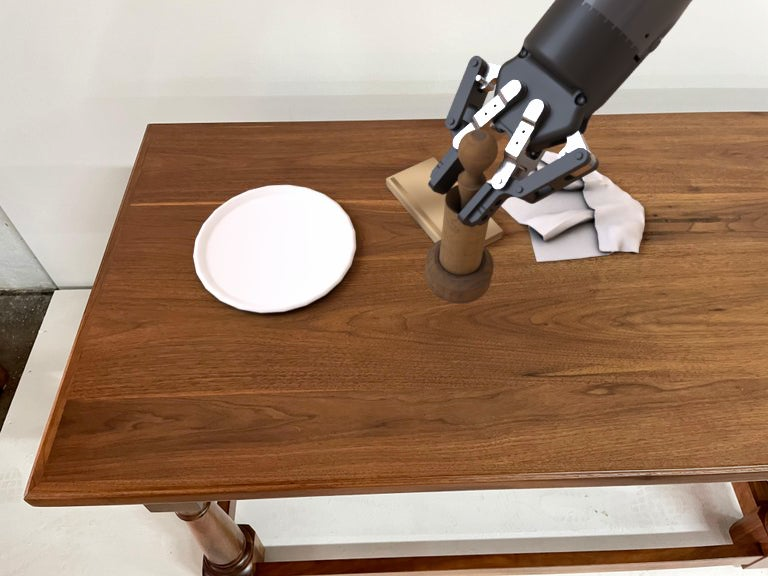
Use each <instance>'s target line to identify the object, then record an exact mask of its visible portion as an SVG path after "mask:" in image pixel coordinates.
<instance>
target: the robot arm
mask: <svg viewBox="0 0 768 576" xmlns="http://www.w3.org/2000/svg"><path fill="white" fill-rule="evenodd" d="M692 2H693V0H554V1H553V2H552V3H551V5H550V6H549V8H547V10H546V11H545V12H544V14H543V15H542V16H541V17H540V19H539V20H538V21H537V22H536V24H535V25H534V26H533V27H532V28H531V30H530V31H529V32H528V34H527V35H526V36H525V38H524V39H523V43H522V46H521V48H520V51H519V52H518V53H517V54H516V55H514V56H513V57H512V58H510V59H508V60H507V61H505V62H504V63H502V65H500V64H495V63H491V62H487V61H486V60H485V59H483V58H482V57H481V56H480V55H474V56H472V57H471V58H470V59H469V61H468V63H467V65H466V68H465V71H464V73H463V75H462V78H461V80H460V83H459V86H458V88H457V90H456V93H455V95H454V98H453V100H452V103H451V106H450V108H449V110H448V113H447V114H446V115H447V116H446V117H445V121H444V126H445V127H446V129H448V130H449V131H450V135H451V138H452V144H451V147H450V148H449V149H448V150H447V152H446V153H445V154H444V155H443V156H442V158H441V159H440V160H439V161H438V162H439V163H438V164H437V166H436V167H435V168H434V169H433V170H432V173H431V175H430V178H431V180H430V181H429V183H428V186H429V187H430V188H431V189H432V190H433V191H434V192H436V193H439V194H441V195H444V194H446V193H447V192H448V191H449V190H450V189H451V188H452V187H453V186H454V184H455V183H456V182H458V177H459V175H460V173H461V172H463V171H465V168H464V167H463V165H462V163H461V162H460V160H459V157H458V145H459V142H460V140H461V138H462V137H463V136H464V135H465V134H466V133H467V132H469V131H471V130H475V129H481V130H485V131H488V132H489V133H491V134H492V135H493V136H494V138H495V139H496V141H497V142H498V141H501V140H502V139H503V138H505V137H506V136H507V137H508V139H509V142H508V144H507V146H506V147H505V149H504V151H503V159H502V161H501V163H500V164H499V166H498V168H497V170H496V171H495V173H494V175H493V177H492V178H491V179H492V183H491V184H490V183H488V182H487V181H486V183H485V184H484V185H483V186H482V187H481V189H480V190H479V191H478V192H477V193H476V194H475V196H474V197H473V198H472V199H471V200H470V201H469V203H468V204H467V205H466V206H465V207H464V208H463V210H462V211H461V212H460V213H459V214H458V216H457V218H458V220H459V221H460V222H461V223H462V224H463V225H466V226H469V227H474V226H476V225H479V226H481V225H483V224H485V223H486V222H487V221H488V220H489V219H490V217H491V218H493V216H494V214H495V213H496V212H497V211H498V210H499V209H500V208H501V205H502V204H503V203H504V202H505V201H506V200H507V199H508V198H510V197H516V198H519V199H521V200H524V201H526V202H527V203H530V204H534V203H536V202H538V201H540V200H542V199H544V198H546V197H548V196H549V195H551V194H553V193H555V192H557V191H559V190H560V189H562V188H564V187H566V186H568V185H570V184H571V183H573V182H575V181H577V180H579V179H581V178H583V177H584V176H586V175H588V174H590V173H592V172H594V171H595V170H596V171H597V169H598V168H599V165H600V160H599V158H598V157H596V156H595V155H594V153H592V152H591V149H590V147H589V145H588V143H587V141H586V138H585V136H584V134H585V133H586V131H587V129H588V126H589V125H588V124H589V122H590V120H591V118H592V116H593V115H594V113H596V112H598V111H599V109H600V108H602V107H603V106H604V105H606V103H607V102H608V101H609V100H610V99H611V97H613V96H614V94H615V93H616V92H617V91H618V89H620V87H621V86H622V85H623V84H624V83H625V82H626V81H627V80H628V79H629V77H630V76H631V75H632V74H633V73H634V72H635V71H636V70H637V68H639V66H640V65H641V64H642V63H643V62H644V61H645V60H646V58H647V57H648V56H649V55H650V54H652V53H653V52H654V51H656V49H657V48H659V46H660V44H661V43H662V41H663V39H664V38H665V37H666V36H667V35H668V34H669V32H671V31H672V29H673V28H674V26H676V24H677V23H678V21H679V20H680V18H681V17H682V15H683V14H684V13H685V11H686V10H687V9H688V8H689V6H690V5H691V3H692ZM493 91H494V92H493ZM490 92H493V98H492V99H491V100H490V101H489V102H487V103H486V104H485V102H486V99H487V97H488V95H489V93H490ZM484 104H485V105H484ZM564 144H565V146H564V147H563V148H562V149H561V150H560V151H559V152H558V153H557V154H558V159H557V160H555V161H553V162H552V163H550V164H548V165H546V166H545V167H543V168H541V169H539V170H538V169H537V168H536V167H537V166H538V164H539V162H540V160H541V159H542V157H543V155H544V154H545V152H546V151H548V149H552V148H554V147H557V146H560V145H564ZM536 169H537V170H536ZM534 170H535V171H536V172H534V173H532V174H531V175H529V173H530V172H531V171H534ZM528 175H529V176H528Z"/></svg>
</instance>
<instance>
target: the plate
mask: <svg viewBox="0 0 768 576" xmlns="http://www.w3.org/2000/svg"><path fill="white" fill-rule="evenodd" d="M356 251H357V240H356V230H355V228H354V225H353V223H352V220H351V218H350V216H349V214H348V213H347V212H346V211H345V210H344V209H343V208H342V206H341V205H340V204H339V203H338V202H336V201H335V200H333V199H332V198H331V197H329V196H328V195H326V194H324V193H322V192H321V191H317V190H314V189H312V188H309V187H305V186H299V185H292V184H278V185H276V184H275V185H265V186H261V187H258V188H253V189H249V190H246V191H245V192H242V193H240V194H237V195H235V196H234V197H232V198H230V199H229V200H227V201H226V202H224V203H223V204H221V205H220V206H219V207H216V209H215V210H214V211H213V212H212V213H211V214H210V215H209V217H208V218H207V219H206V220H205V222H204V223H202V226H201V228H200V230H199V231H198V234H197V235H196V238H195V242H194V248H193V256H192V257H193V262H194V267H195V272H196V275H197V276H198V278H199V280H200V281H201V283H202V285H203V286H204V288H205V289H206V290H207V291H208V292H209V293H210V294H212V296H214V298H216V299H217V300H218V301H219V302H222V303H224V304H225V305H228V306H229V307H230V306H231V307H233V308H235V309H237V310H239V311H244V312H250V313H257V314H273V313H274V314H276V313H285V312H289V311H292V310H293V311H294V310H296V309H299V308H303V307H307V306H309V305H311V304H312V303H314V302H316V301H317V300H319V299H321V298H324V297H326V296H327V295H328V294H329V293H330V292H331V291H332V290H333V289H335V287H337V286H338V285H339V284H340V283H341V282H342V281H343V279H344V278H345V276H346V274H347V273H348V271H349V270H350V268H351V267H352V264H353V260H354V257H355V253H356Z"/></svg>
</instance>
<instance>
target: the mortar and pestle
mask: <svg viewBox="0 0 768 576" xmlns="http://www.w3.org/2000/svg"><path fill="white" fill-rule="evenodd" d="M498 152H499V146H498V141H496V139H495V138H494V136H493V135H492V134H491V133H489V132H488V131H485V130H481V129H475V130H471V131H469V132H467V133H466V134H465V135H464V136H463V137H462V138H461V140H460V142H459V145H458V157H459V160H460V162H461V163H462V165H463V167H464V168H465V171H463V172H461V173H460V175H459V177H458V181H457V182H458V185H456V186H454V187H452V188H451V189H450V190H449V191H448V192H447V194H446V197H445V205H444V217H443V228H442V238H441V240H439V241H437V242H436V243H433V244H432V245H431V246H430V248H429V249H428V251H427V253H426V256H425V264H424V279H425V283H426V285H427V287H428V289H429V290H430V292H431V293H432V294H434V295H435V296H436V297H437V298H439V299H441V300H442V301H444V302H447V303H451V304H458V305H459V304H461V305H462V304H463V305H465V304H470V303H473V302H475V301H477V300H479V299H480V298H482V297H484V296H485V294H486V293H487V292H488V290H489V288H490V286H491V283H492V279H493V273H494V265H495V264H494V258H493V256H492V254H491V252H490V251H489V249H488V248H487V246H484V243H485V238H486V233H487V228H488V223H489V220H488V221H487V222H486V223H485V224H483V225H481V226H479V225H476V226H474V227H469V226H466V225H463V224H462V223H461V222H460V221H459V220H458V218H457V216H458V214H459V213H460V212H461V211H462V210H463V208H464V207H465V206H466V205H467V204H468V203H469V201H470V200H471V199H472V198H473V197H474V196H475V194H476V193H477V192H478V191H479V190H480V189H481V187H482V186H483V185H484V184H485V183H486V182H487V181H488V180H487V176H486V175H485V174H484V172H485V171H487V170H488V169H489V168H490V167H491V166H492V165H493V164H494V162H495V161H496V159H497V157H498Z"/></svg>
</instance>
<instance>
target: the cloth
mask: <svg viewBox="0 0 768 576" xmlns="http://www.w3.org/2000/svg"><path fill="white" fill-rule="evenodd" d="M558 154H559V153H557V152H553V151H548V150H546V152H545V154H544V155H543V157H542V159H541V160H540V162H539V164H538V166H537V167H536V169H537V170H536V169H535V170H534V171H531V172H530V173H529V175H531V174H532V173H534V172H536V171H538V170H539V169H541V168H543V167H545V166H546V165H548V164H550V163H552V162H553V161H555V160H557V159H558ZM529 175H528V176H529ZM486 182H488V183H490V184H491V183H492V178H491V179H489V180H487V181H486ZM500 208H502V209H503V210H504V211H505V212H506V213H508V214H509V216H510V217H511V218H513V220H515V221H516V222H517V223H518V224H521V225H526V226H528V231H529V235H530V239H531V244H532V249H533V253H534V256H535V260H536V263H544V262H558V261H560V262H561V261H571V260H579V259H587V258H589V259H590V258H597V257H606V256H610V255H612V254H613V253H614V252H626V253H631V252H632V253H635V254H639V250H640V247H641V243H642V240H643V233H644V231H645V222H646V221H645V220H646V215H645V206H644V205H643V204H642V203H641V202H640V201H639V200H637V199H634V198H633V197H632V195H630V194H629V193H628V192H626V191H624V190H623V189H622V188H620V187H619V186H618V185H617V184H615V183H614V182H613V181H612V180H611V179H610V178H609V177H607V176H605V175H604V174H601V173H600V172H598V171H597V169H596V170H595V171H594V172H592V173H590V174H588V175H586V176H584V177H583V178H581V179H579V180H577V181H575V182H573V183H571V184H570V185H568V186H566V187H564V188H562V189H560V190H559V191H557V192H555V193H553V194H551V195H549V196H548V197H546V198H544V199H542V200H540V201H538V202H536V203H534V204H530V203H527V202H526V201H524V200H521V199H519V198H516V197H510V198H508V199H507V200H506V201H505V202H504V203H503V204H502V205H501V206H500Z"/></svg>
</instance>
